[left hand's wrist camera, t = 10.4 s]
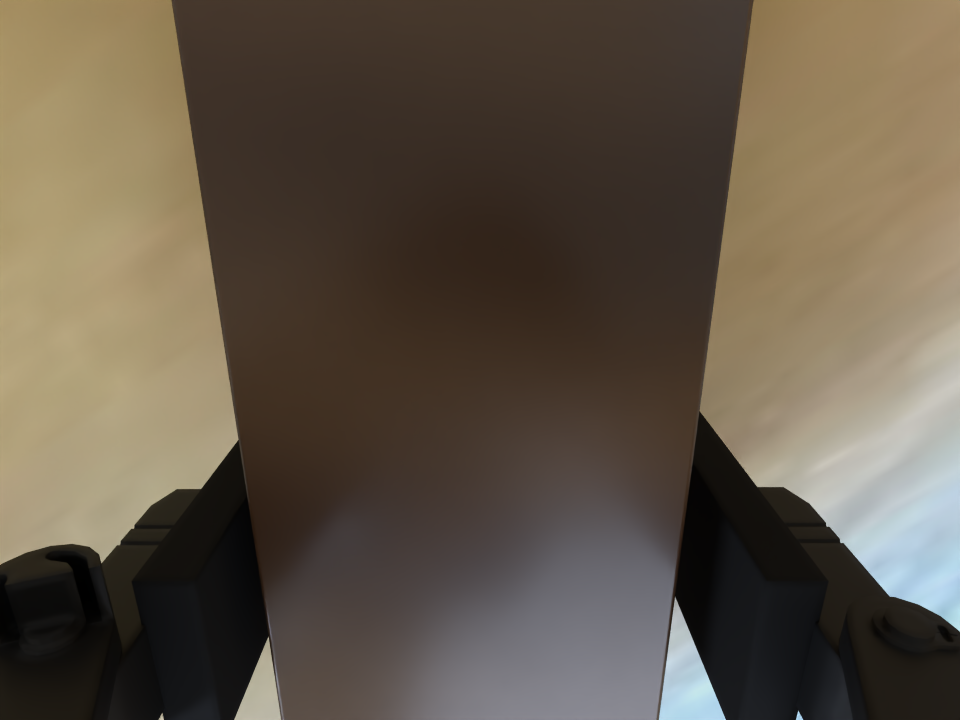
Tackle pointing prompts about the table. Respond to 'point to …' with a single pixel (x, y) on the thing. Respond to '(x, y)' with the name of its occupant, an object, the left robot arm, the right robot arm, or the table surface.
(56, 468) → the table surface
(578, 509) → the bar
